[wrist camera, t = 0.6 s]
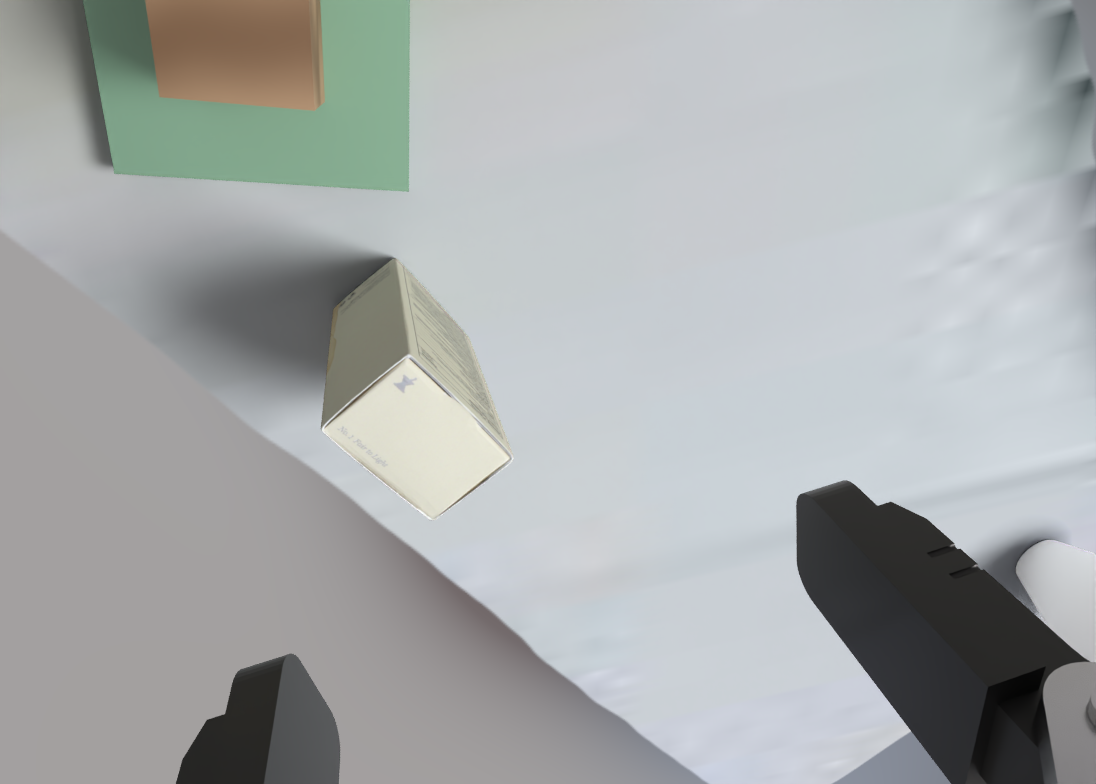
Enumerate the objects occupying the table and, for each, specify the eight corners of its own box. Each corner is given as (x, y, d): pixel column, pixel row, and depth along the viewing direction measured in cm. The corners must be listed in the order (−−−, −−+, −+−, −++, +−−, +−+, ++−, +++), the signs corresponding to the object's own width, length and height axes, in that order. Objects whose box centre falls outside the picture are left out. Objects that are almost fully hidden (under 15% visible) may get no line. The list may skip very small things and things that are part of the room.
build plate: (61, -186, 23) (46, -197, 22) (409, -125, 26) (410, -132, 25) (124, 169, 28) (114, 173, 27) (407, 187, 31) (408, 191, 30)
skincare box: (330, 307, 33) (307, 427, 23) (397, 252, 33) (406, 347, 22) (415, 390, 36) (429, 528, 26) (477, 340, 36) (518, 460, 25)
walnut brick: (176, -57, 24) (133, -81, 20) (318, -38, 26) (305, -56, 21) (195, 90, 27) (159, 97, 22) (325, 101, 28) (314, 110, 24)
